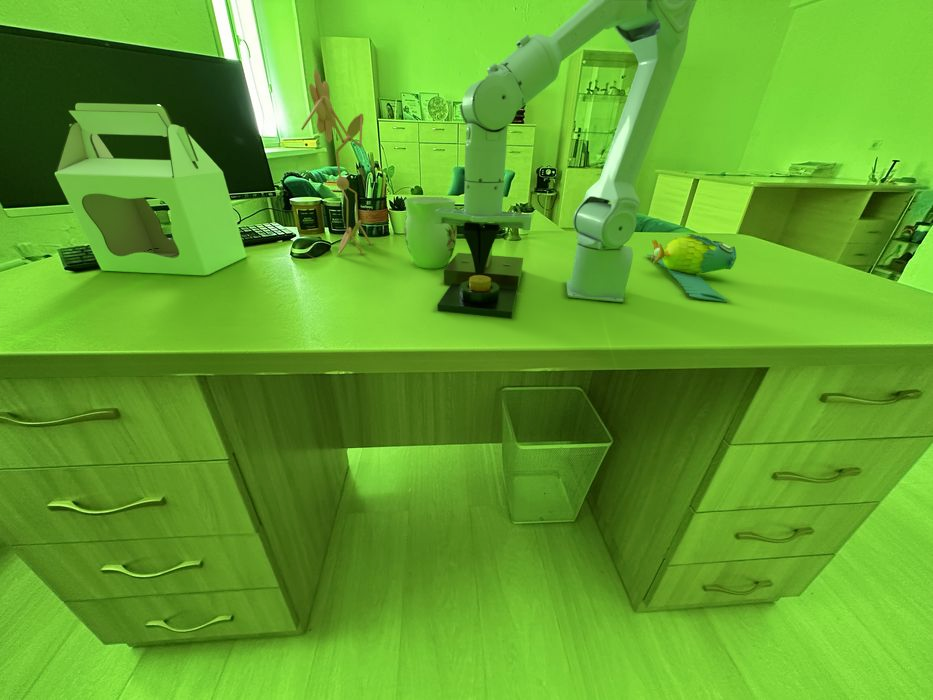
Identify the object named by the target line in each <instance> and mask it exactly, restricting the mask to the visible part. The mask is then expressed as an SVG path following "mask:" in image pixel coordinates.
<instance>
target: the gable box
mask: <svg viewBox="0 0 933 700" xmlns="http://www.w3.org/2000/svg"><path fill="white" fill-rule="evenodd" d="M74 108H75V109H69V110H68V112H69V114H70V115H71V116H72V117H73V118H74V120H75V121H76V122H73V123H69V127H68V130H67V134H66V137H65V140H64V144H63V146H62V150H61V153H60V156H59V160H58V163H57V166H56V169H55V171H54V176H55V179H56V181H57V182H58V184H59V186H60V188H61V190H62V192H63V194H64V196H65V198H66V201H67V203H68V205H69V207H70V208H71V211H72V212H73V214H74V217H75V219H76V221H77V224H78V225H79V226H80V229H81V231H82V234H83V235H84V237H85V239H86V241H87V244H88V245H89V248H90V250H91V251H92V254H93V257H94V258H95V260H96V262H97V264H98V266H99V268H100V270H101V271H104V272H117V273H118V272H119V273H120V272H122V273H141V274H159V275H160V274H161V275H162V274H163V275H184V276H205V277H206V276H209V275H212V274H214V273H216V272H218V271H221V270H222V269H224V268H226V267H229V266H230V265H233V264H234V263H237V262H239V261H241V260H243V259H245V258H247V253H246V249H245V245H244V242H243V239H242V235H241V232H240V229H239V224H238V221H237V218H236V214H235V211H234V207H233V203H232V199H231V197H230V196H231V195H230V193H229V189H228V186H227V182H226V178H225V175H224V171H223V170H222V169H221V168H220V167H219V166H218V165H217V163H216V162H214V160H213V159H212V158H211V157H210V156H209V155H208V154H207V153H206V151H205V150H204V149H203V148H202V147H201V146H200V145H199V144H198V143H197V142H196V140H195V139H194V138H193V137H192V136H191V134H189V131H188V130H187V127H186V126H180V125H178V124H174V123H173V121H172V119H171V116H170V115H169V112H168V110H167V109H166V108H165V106H163V105H161V104H144V103H143V104H140V103H139V104H138V103H95V102H93V103H92V102H77V103H75V106H74ZM99 135H120V136H121V135H122V136H123V135H124V136H158V137H159V136H161V137H164V138H166V137H167V144H168V151H169V159H161V158H160V159H158V158H157V159H155V158H128V157H127V158H126V157H125V158H123V157H114V156H113V155H112V153H111V152H110V151H109V149H108V148H107V146H106V145H105V143H104V142H103V140H102V139H101V138H100V136H99ZM146 198H152V199H157V200H160V201H162V202H163V203H165V204H166V205H167V206H168V208H169V212H170V230H171V231H170V232H171V236H172V238H169V237H168V236H167V235H166V234H165V233H164V231H163V228H162V223H161V220H160V218H159V217H158V214H157V213H156V212H155V209H153V208H152V206H151V205H150V203H149V202H148V201H147V199H146ZM152 248H159V249H152ZM149 249H152V250H149ZM147 250H149V251H147ZM144 251H145V252H144Z"/></svg>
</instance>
